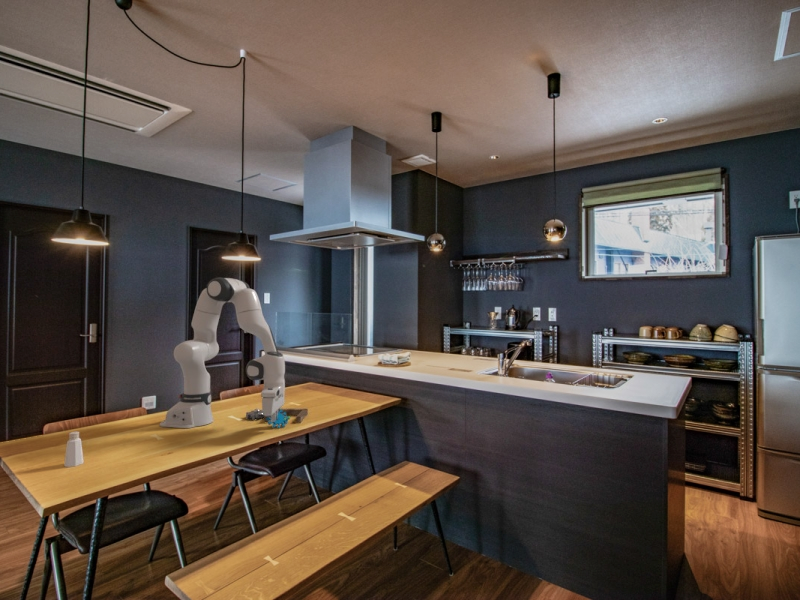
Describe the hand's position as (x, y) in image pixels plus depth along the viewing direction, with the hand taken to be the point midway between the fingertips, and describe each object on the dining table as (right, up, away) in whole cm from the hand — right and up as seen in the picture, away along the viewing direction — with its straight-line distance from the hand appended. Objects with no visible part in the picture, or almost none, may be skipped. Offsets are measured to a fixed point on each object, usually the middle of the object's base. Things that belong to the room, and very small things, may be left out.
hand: (274, 420), depth 185 cm
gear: (0, -5, +7) cm, 8 cm away
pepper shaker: (-58, -4, -38) cm, 70 cm away
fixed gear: (-15, -5, +22) cm, 27 cm away
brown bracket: (0, -5, +19) cm, 20 cm away
